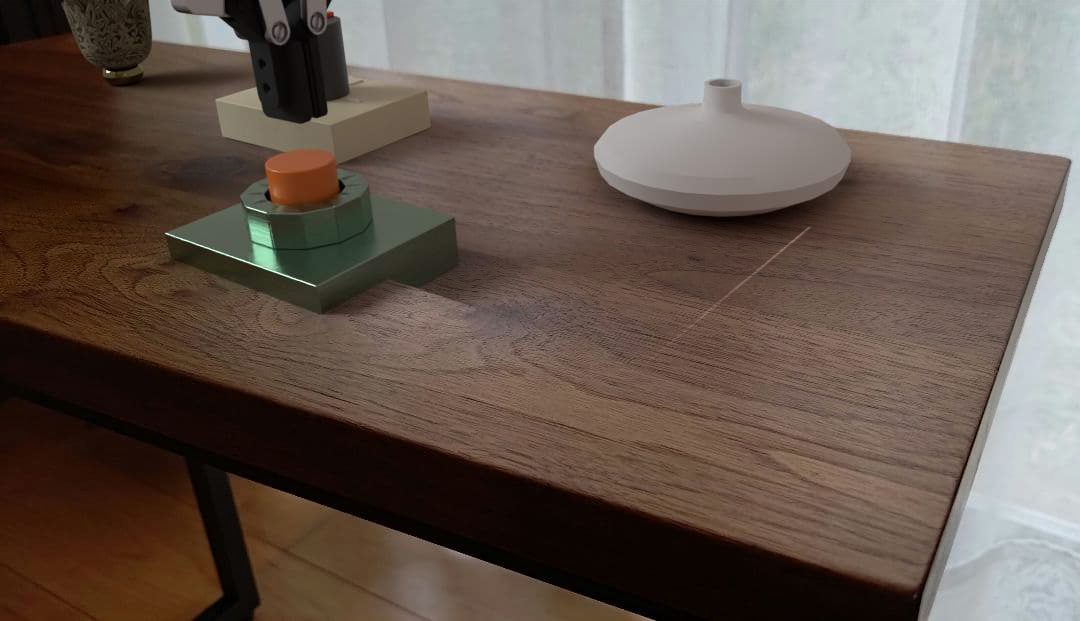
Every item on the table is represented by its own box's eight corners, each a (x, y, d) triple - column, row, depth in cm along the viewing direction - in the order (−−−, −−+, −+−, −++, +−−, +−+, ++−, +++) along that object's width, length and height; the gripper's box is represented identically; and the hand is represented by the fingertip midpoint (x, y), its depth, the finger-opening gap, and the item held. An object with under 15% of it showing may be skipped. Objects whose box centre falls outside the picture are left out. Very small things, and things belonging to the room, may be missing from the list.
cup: (92, 75, 97) (70, -10, 93) (170, 68, 98) (152, -16, 94) (75, 95, 90) (52, 5, 87) (160, 88, 92) (140, -1, 88)
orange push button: (257, 201, 53) (250, 164, 52) (308, 180, 55) (303, 144, 54) (302, 214, 51) (296, 176, 50) (354, 192, 53) (349, 155, 52)
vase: (772, 267, 53) (781, 141, 50) (543, 206, 62) (538, 95, 59) (887, 179, 64) (901, 70, 61) (678, 138, 73) (680, 41, 70)
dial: (319, 105, 74) (307, 25, 71) (279, 97, 76) (266, 20, 73) (361, 90, 77) (352, 13, 74) (322, 83, 79) (311, 8, 76)
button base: (176, 282, 55) (155, 197, 52) (313, 221, 62) (301, 144, 59) (325, 341, 48) (309, 247, 46) (459, 266, 55) (452, 181, 53)
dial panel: (222, 136, 78) (214, 97, 76) (318, 104, 85) (312, 67, 83) (336, 165, 71) (330, 122, 69) (431, 127, 78) (427, 87, 76)
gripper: (118, -322, 35) (221, 173, 43) (411, -308, 45) (448, 89, 54) (10, -303, 39) (123, 146, 48) (301, -294, 49) (351, 73, 58)
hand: (295, 115), depth 51 cm, fingers closed
